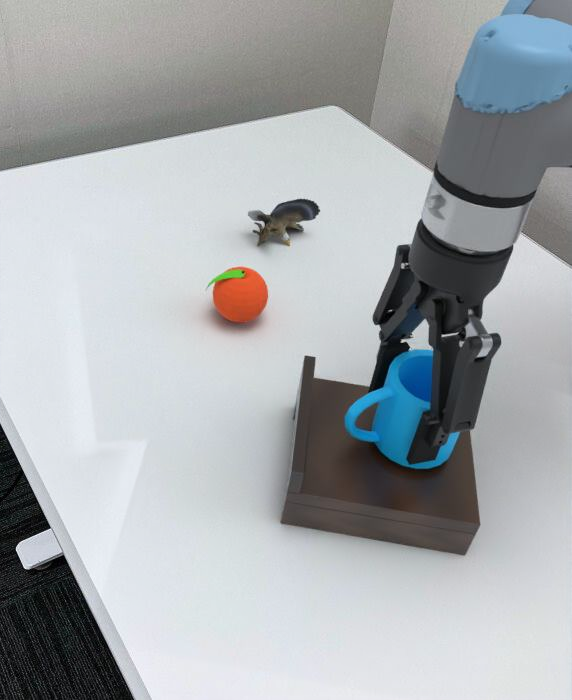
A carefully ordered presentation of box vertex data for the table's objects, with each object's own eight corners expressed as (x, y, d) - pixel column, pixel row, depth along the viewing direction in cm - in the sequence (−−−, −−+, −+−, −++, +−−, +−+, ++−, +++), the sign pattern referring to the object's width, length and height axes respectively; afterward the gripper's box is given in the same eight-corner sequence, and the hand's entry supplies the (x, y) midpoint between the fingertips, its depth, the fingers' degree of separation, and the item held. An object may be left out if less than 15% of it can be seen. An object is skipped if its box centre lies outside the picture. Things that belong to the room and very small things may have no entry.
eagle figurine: (288, 258, 107) (329, 224, 110) (266, 212, 104) (309, 179, 108) (254, 259, 113) (294, 227, 117) (233, 216, 110) (275, 185, 114)
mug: (431, 402, 81) (453, 345, 76) (467, 462, 76) (493, 405, 70) (324, 416, 79) (338, 358, 73) (352, 480, 73) (369, 422, 67)
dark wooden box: (454, 432, 86) (475, 382, 81) (465, 555, 75) (490, 505, 69) (294, 406, 88) (304, 354, 82) (280, 523, 76) (291, 472, 70)
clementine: (208, 337, 95) (212, 291, 90) (197, 301, 100) (200, 256, 95) (271, 331, 97) (277, 286, 92) (257, 296, 102) (263, 252, 97)
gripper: (368, 166, 66) (325, 358, 82) (494, 322, 52) (413, 520, 67) (445, 159, 68) (389, 348, 84) (588, 308, 54) (488, 504, 69)
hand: (400, 424), depth 76 cm, fingers closed on mug, 8 cm apart
